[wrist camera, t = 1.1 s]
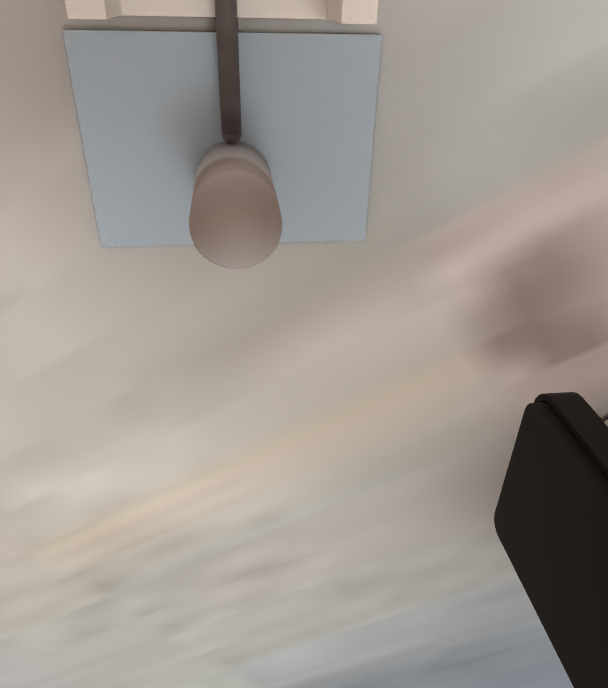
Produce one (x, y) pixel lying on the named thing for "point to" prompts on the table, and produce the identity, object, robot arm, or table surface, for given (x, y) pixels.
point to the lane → (292, 3)
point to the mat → (205, 127)
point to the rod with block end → (233, 173)
